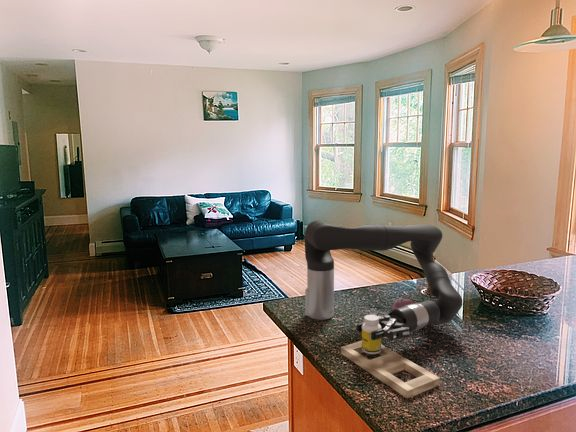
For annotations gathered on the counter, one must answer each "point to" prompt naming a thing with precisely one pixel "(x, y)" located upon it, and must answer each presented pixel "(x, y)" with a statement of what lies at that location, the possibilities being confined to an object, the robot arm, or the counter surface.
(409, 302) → the pink arch block
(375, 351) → the supplement bottle
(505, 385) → the counter surface
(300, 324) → the counter surface
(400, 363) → the socket rail
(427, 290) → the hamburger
